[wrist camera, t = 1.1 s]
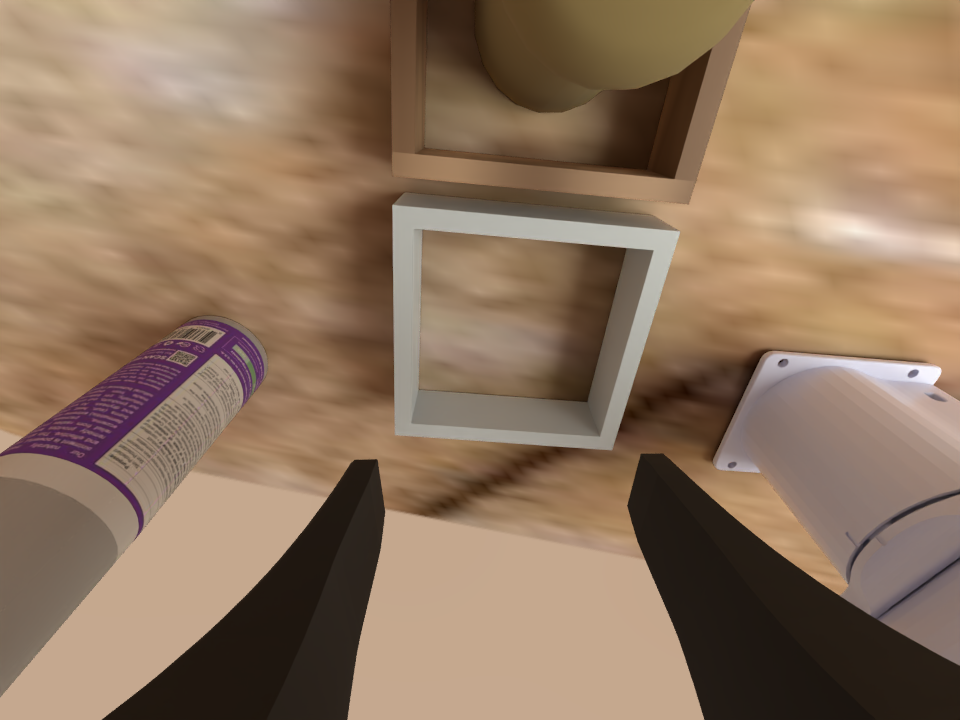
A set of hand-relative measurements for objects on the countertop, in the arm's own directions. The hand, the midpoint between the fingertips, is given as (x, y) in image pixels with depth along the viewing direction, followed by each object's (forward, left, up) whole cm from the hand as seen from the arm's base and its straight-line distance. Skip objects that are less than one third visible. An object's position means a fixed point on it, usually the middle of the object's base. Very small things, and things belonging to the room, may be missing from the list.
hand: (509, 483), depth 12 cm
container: (+14, +3, -11) cm, 18 cm away
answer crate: (-1, 0, -11) cm, 11 cm away
